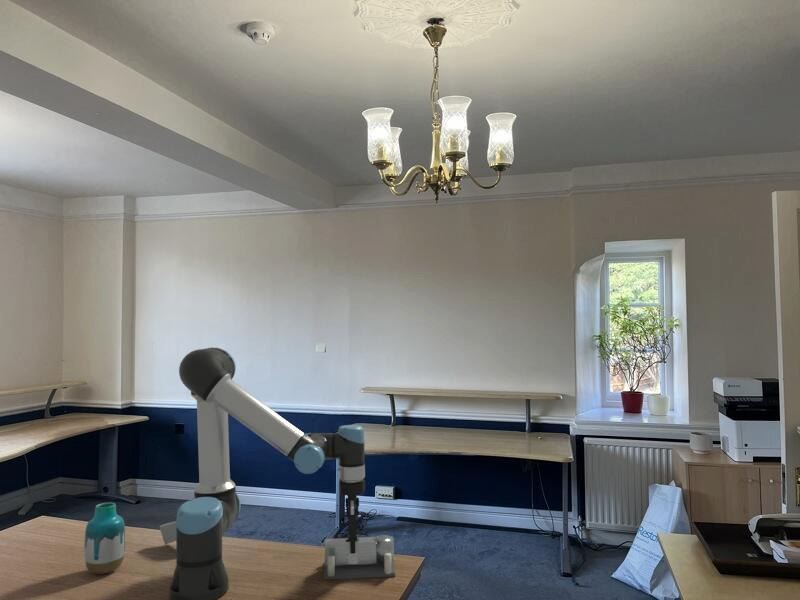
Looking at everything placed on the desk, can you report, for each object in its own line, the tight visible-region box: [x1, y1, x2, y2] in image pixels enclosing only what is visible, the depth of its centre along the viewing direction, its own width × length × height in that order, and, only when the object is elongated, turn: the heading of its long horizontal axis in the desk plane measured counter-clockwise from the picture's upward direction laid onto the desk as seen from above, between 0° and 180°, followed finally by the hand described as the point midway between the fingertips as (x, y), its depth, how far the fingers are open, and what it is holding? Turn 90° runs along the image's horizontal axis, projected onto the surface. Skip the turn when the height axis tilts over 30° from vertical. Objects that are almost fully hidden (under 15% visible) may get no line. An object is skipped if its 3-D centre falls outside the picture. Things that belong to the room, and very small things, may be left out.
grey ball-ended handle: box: [324, 534, 395, 566], centre depth 170 cm, size 20×6×6 cm, turn 95°
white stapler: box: [159, 520, 176, 545], centre depth 187 cm, size 4×10×15 cm
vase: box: [83, 501, 126, 575], centre depth 170 cm, size 11×11×19 cm
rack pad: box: [323, 553, 396, 581], centre depth 170 cm, size 20×13×6 cm, turn 95°
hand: (352, 560), depth 169 cm, fingers closed on grey ball-ended handle, 4 cm apart
